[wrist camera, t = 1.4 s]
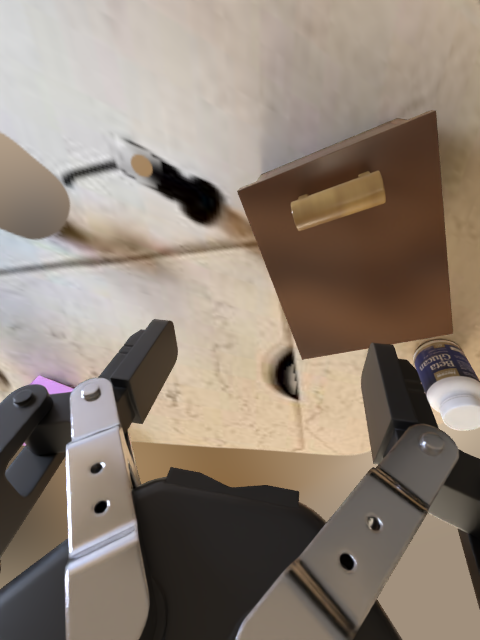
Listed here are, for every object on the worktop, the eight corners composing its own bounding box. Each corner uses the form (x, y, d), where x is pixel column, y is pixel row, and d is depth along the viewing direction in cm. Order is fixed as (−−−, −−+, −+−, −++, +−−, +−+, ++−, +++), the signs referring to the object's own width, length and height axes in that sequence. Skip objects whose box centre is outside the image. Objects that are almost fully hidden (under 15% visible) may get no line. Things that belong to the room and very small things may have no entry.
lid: (239, 188, 23) (222, 207, 19) (431, 109, 18) (466, 112, 14) (302, 354, 31) (300, 394, 27) (449, 328, 26) (475, 371, 22)
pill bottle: (439, 330, 37) (472, 392, 29) (471, 353, 38) (512, 418, 30) (402, 357, 40) (423, 418, 33) (433, 377, 41) (461, 442, 33)
